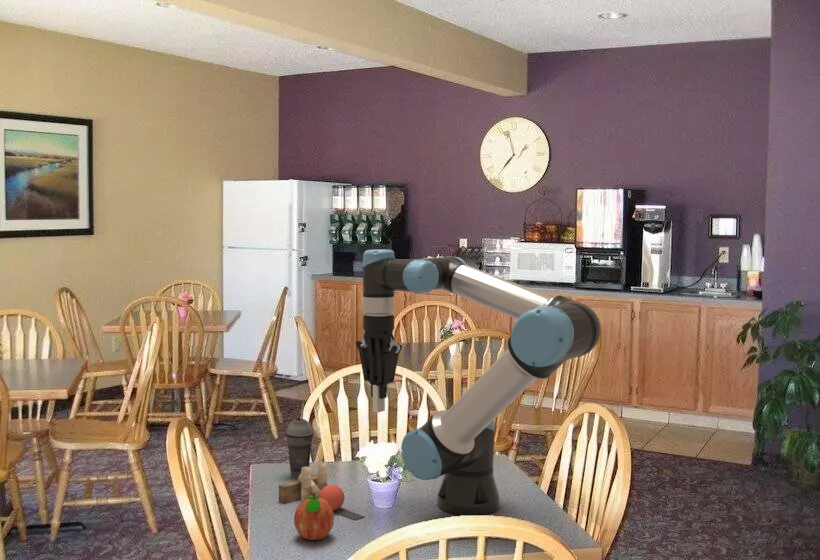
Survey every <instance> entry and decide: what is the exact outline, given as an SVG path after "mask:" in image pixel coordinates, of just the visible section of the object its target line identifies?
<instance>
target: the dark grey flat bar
mask: <svg viewBox="0 0 820 560" xmlns="http://www.w3.org/2000/svg"><path fill="white" fill-rule="evenodd" d="M334 512H335V513H334ZM333 513H334V514H336V513H337V514H336V515H339V514H340V516H341V517H344V516H345V517H344V518H347V517H348V519H350V520H352V519H353V521H358V520H361V519H363V518H365V516H364V515H362V514H359V513H357V512H353V511H351V510H349V509H345V508H343V507H340V508H339V509H337V510H334V511H333Z"/></svg>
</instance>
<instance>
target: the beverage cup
mask: <svg viewBox="0 0 820 560" xmlns="http://www.w3.org/2000/svg"><path fill="white" fill-rule="evenodd" d="M304 409H305V402H302V404H301V412H300V418H296V419H293V420H292V421H291V422H290V423H289V424H288V426H287V427H286V433H285V436H286V441H287V447H288V458H289V459H288V460H289V470H290V478H291V477H292V478H291V479H293V478H294V479H293V480H298V477H299V475H300V474H301V468H302V467H306V466H307V467H310V462H311V451H312V442H313V437H314V432H313V431H314V430H313V427H312V425H311V423H310V422H309V421H308V420H306V419H305V418H303V417H304V412H305V411H304Z"/></svg>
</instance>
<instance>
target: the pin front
mask: <svg viewBox="0 0 820 560" xmlns="http://www.w3.org/2000/svg"><path fill="white" fill-rule="evenodd" d="M297 480H299V481H300V482H301V474H300V475H299V477H298V479H297ZM320 492H321V490H320V489H319V488H318V486H317V485H316V484H315V483H314V482H313V481H312V479H311V496H312V495H313V493H315V496H318V498H319V495H320Z"/></svg>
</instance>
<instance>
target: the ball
mask: <svg viewBox="0 0 820 560" xmlns="http://www.w3.org/2000/svg"><path fill="white" fill-rule="evenodd" d="M319 498H322V499H324V500H325V501H327V502H328V503H329V505H330V506H331V508H332V510H333V511H334V510H337V509H339V508H342V506H343V504H344V502H345V493H344V491H343V489H342V488H341V487H340V486H338V485H336V484H327V486H326V487H324V488H323V489H322V490H321V492H320V495H319Z"/></svg>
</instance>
